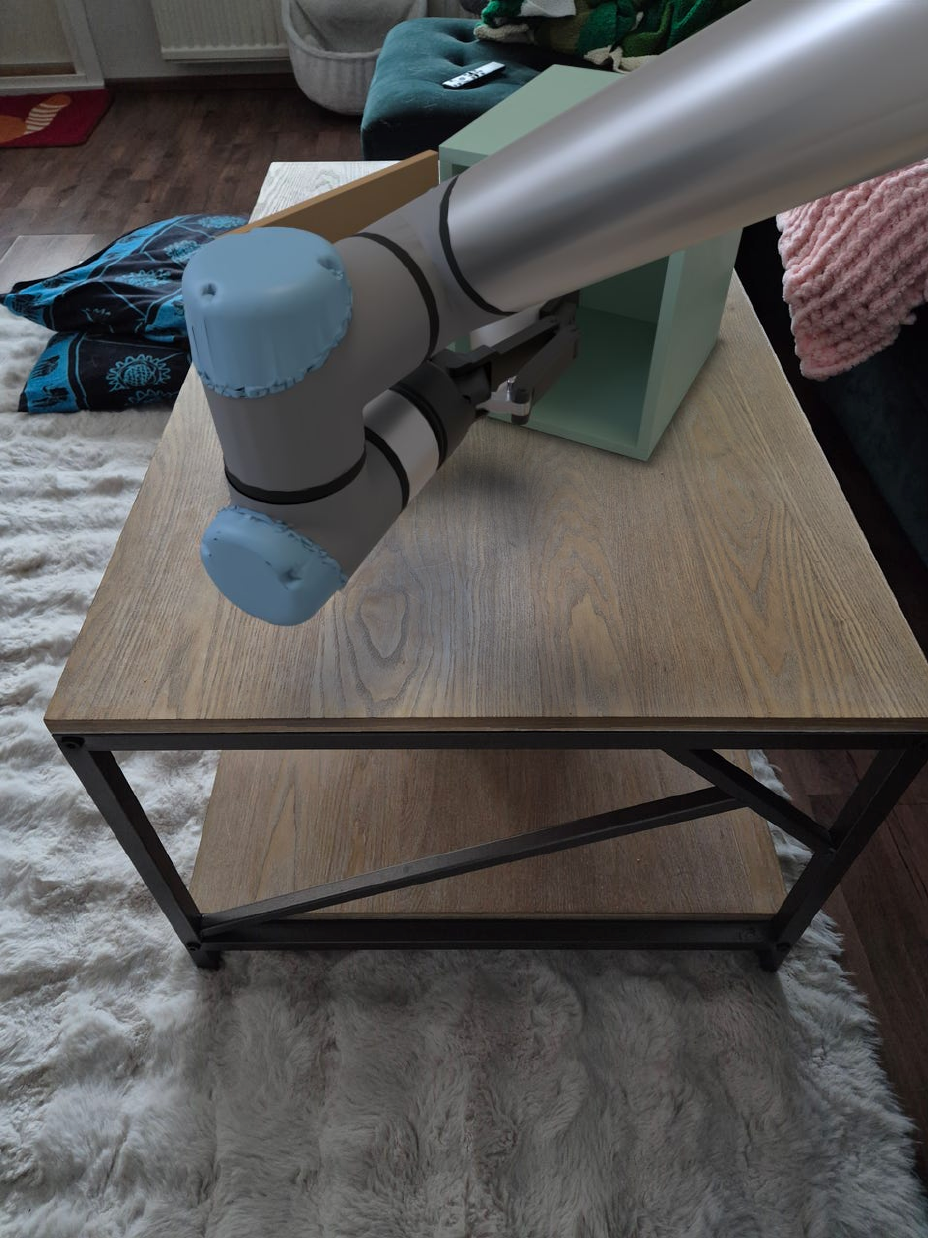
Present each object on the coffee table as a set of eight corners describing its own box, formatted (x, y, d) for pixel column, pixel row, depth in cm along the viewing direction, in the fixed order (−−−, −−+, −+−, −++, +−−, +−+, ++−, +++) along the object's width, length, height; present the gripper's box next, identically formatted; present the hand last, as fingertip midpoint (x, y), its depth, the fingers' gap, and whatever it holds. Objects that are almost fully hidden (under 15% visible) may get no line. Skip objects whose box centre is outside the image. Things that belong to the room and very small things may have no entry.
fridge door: (237, 483, 78) (168, 215, 60) (401, 385, 89) (383, 133, 71) (282, 513, 75) (223, 241, 58) (445, 408, 86) (438, 151, 68)
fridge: (646, 461, 80) (697, 191, 62) (445, 404, 87) (438, 145, 69) (716, 342, 95) (774, 94, 76) (539, 300, 101) (553, 63, 83)
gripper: (277, 442, 61) (430, 299, 74) (526, 521, 55) (642, 350, 68) (258, 346, 55) (427, 211, 69) (532, 423, 49) (657, 258, 63)
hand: (534, 280), depth 69 cm, fingers closed on drinking glass, 6 cm apart
